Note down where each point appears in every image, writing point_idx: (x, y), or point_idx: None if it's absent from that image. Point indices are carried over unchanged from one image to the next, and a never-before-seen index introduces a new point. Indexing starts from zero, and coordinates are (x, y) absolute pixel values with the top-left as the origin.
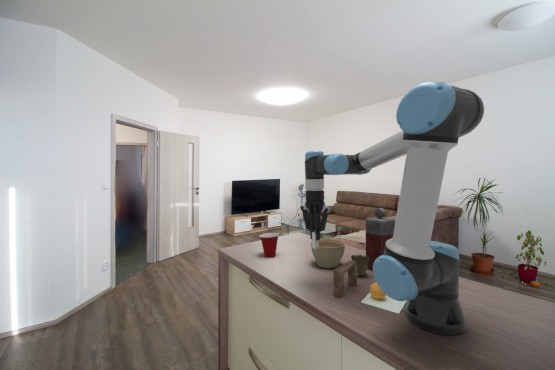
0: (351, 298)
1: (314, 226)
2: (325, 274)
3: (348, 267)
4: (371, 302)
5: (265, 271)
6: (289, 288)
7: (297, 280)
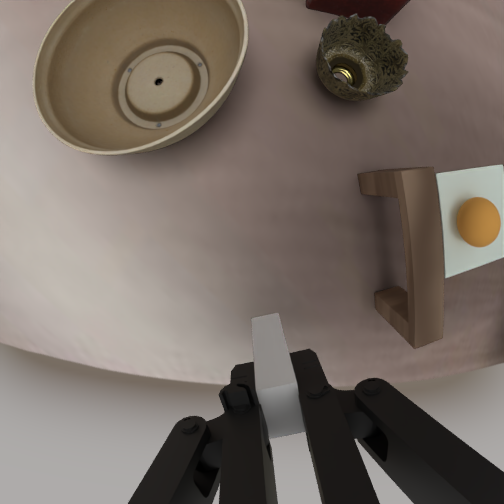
0: None
1: (264, 442)
2: (234, 181)
3: (443, 271)
4: (463, 258)
5: (70, 342)
6: None
7: (202, 317)
